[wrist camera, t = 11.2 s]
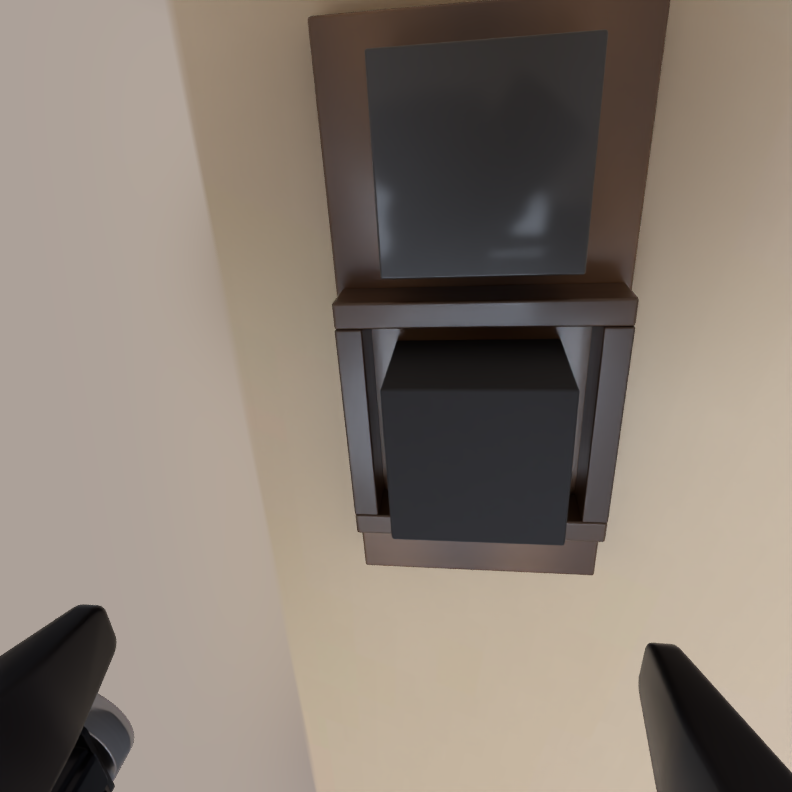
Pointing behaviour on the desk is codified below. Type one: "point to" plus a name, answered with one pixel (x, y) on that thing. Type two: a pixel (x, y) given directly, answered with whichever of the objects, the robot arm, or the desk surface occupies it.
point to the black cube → (479, 440)
